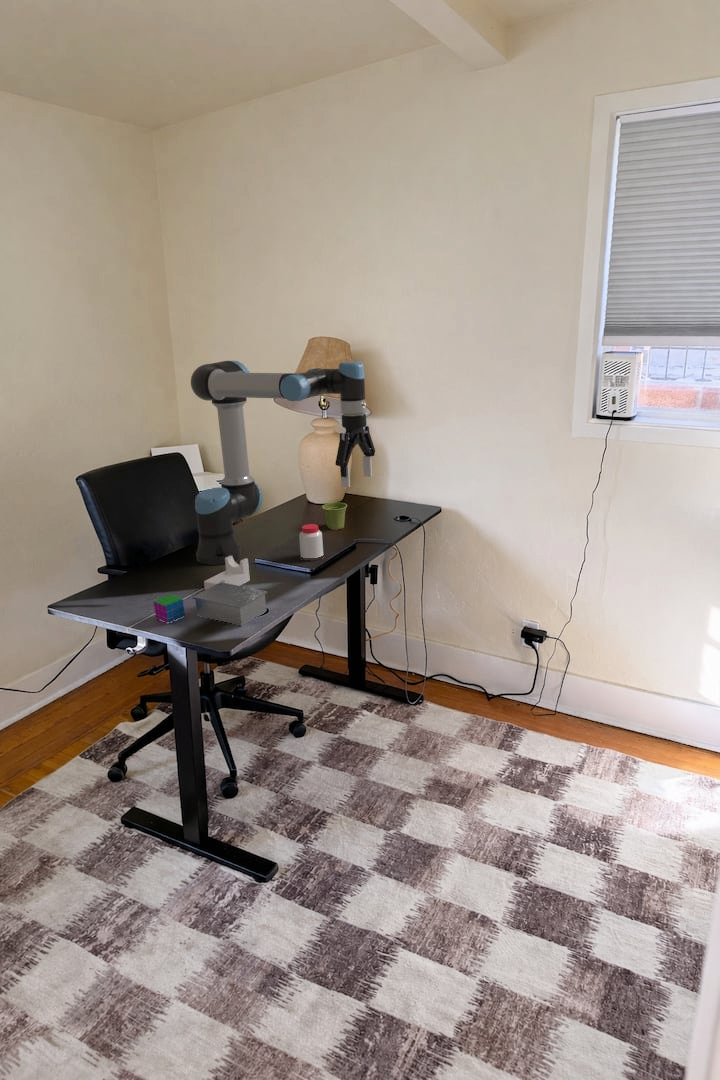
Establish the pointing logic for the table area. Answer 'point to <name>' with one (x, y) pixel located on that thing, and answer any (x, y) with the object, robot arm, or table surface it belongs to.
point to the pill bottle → (311, 541)
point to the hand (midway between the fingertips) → (357, 481)
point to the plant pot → (335, 515)
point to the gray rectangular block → (230, 603)
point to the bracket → (231, 573)
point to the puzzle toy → (169, 608)
